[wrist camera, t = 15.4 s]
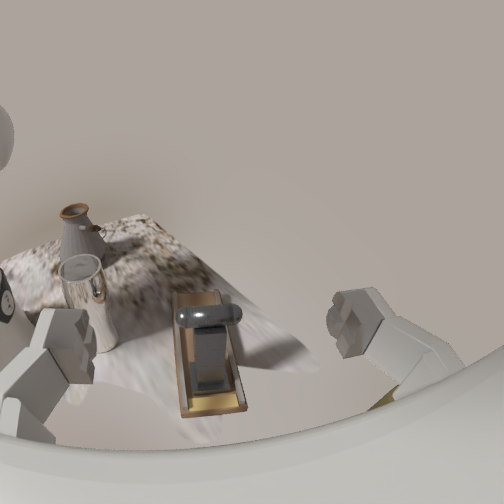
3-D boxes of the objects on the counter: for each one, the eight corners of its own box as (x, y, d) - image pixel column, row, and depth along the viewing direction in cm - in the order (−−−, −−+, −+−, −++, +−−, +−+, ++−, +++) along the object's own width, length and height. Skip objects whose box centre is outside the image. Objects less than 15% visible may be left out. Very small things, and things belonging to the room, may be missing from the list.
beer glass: (97, 319, 47) (77, 248, 39) (128, 331, 46) (112, 259, 38) (76, 345, 42) (47, 274, 33) (107, 361, 41) (81, 289, 32)
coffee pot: (56, 258, 59) (42, 200, 51) (96, 241, 67) (88, 185, 59) (89, 310, 49) (69, 241, 40) (138, 285, 56) (129, 217, 48)
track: (181, 418, 35) (180, 410, 34) (171, 299, 54) (170, 289, 53) (246, 411, 37) (248, 403, 36) (219, 297, 56) (219, 287, 55)
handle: (184, 396, 36) (175, 328, 28) (178, 331, 46) (172, 257, 38) (238, 391, 38) (248, 322, 30) (223, 328, 48) (228, 255, 40)
